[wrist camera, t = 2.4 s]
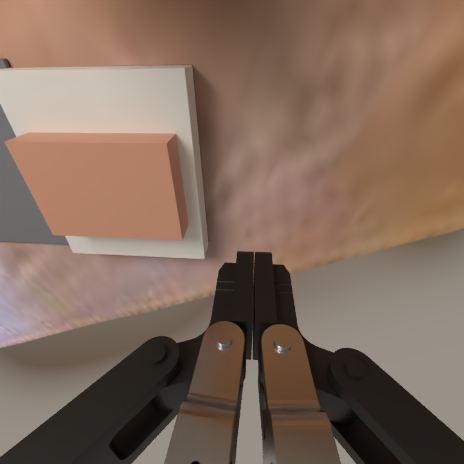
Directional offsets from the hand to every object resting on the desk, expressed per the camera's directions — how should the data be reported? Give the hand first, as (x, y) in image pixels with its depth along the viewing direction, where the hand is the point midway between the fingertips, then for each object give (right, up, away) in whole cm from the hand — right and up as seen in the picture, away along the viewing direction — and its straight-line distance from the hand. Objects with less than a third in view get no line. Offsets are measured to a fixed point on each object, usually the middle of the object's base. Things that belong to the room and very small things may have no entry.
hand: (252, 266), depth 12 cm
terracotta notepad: (-9, +5, +7) cm, 13 cm away
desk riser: (-9, +6, +9) cm, 14 cm away
